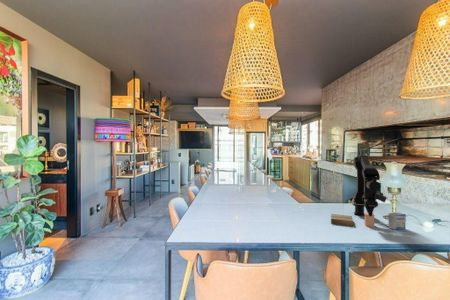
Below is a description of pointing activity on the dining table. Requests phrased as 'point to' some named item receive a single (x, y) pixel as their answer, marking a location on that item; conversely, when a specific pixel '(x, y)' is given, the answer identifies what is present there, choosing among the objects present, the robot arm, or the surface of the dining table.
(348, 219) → the walnut base
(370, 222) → the terracotta block
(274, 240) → the dining table surface
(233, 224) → the dining table surface
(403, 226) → the medicine box
